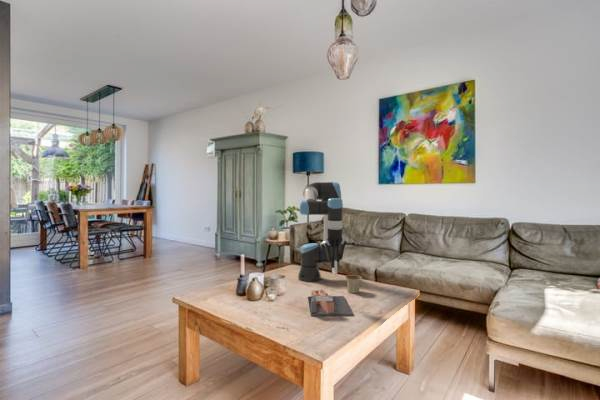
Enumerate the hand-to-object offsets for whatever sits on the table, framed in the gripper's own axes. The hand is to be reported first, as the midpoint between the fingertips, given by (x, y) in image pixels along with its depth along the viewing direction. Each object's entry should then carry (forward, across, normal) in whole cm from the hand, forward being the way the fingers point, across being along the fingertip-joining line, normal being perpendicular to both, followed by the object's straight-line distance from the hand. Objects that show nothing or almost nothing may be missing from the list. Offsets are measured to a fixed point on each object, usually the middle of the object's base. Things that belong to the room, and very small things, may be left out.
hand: (334, 273), depth 160 cm
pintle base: (+16, +4, +1) cm, 17 cm away
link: (+15, +7, +2) cm, 17 cm away
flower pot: (+17, -20, -13) cm, 30 cm away
